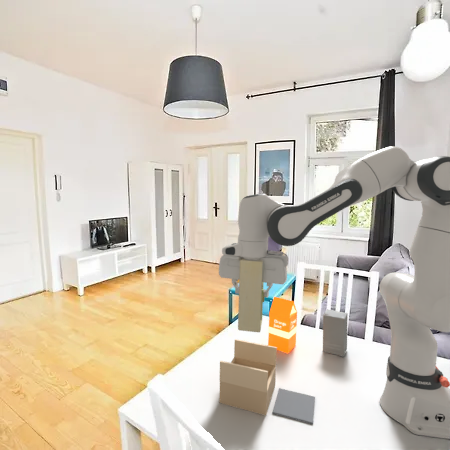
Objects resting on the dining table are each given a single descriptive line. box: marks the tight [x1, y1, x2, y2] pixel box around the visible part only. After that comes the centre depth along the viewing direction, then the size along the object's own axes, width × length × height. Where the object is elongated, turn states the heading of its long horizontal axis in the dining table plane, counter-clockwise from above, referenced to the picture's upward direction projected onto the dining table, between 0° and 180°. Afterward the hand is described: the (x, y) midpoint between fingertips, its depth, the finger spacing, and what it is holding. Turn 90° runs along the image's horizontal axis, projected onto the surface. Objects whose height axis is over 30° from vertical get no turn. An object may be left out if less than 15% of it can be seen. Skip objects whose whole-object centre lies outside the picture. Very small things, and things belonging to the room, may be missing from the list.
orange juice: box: [267, 296, 298, 354], centre depth 120 cm, size 8×9×20 cm
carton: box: [219, 338, 278, 416], centre depth 91 cm, size 14×14×13 cm
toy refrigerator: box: [237, 258, 266, 333], centre depth 88 cm, size 8×7×21 cm
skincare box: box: [322, 309, 348, 357], centre depth 117 cm, size 8×7×16 cm
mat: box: [272, 387, 316, 425], centre depth 87 cm, size 11×11×1 cm
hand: (251, 294), depth 88 cm, fingers closed on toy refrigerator, 7 cm apart
